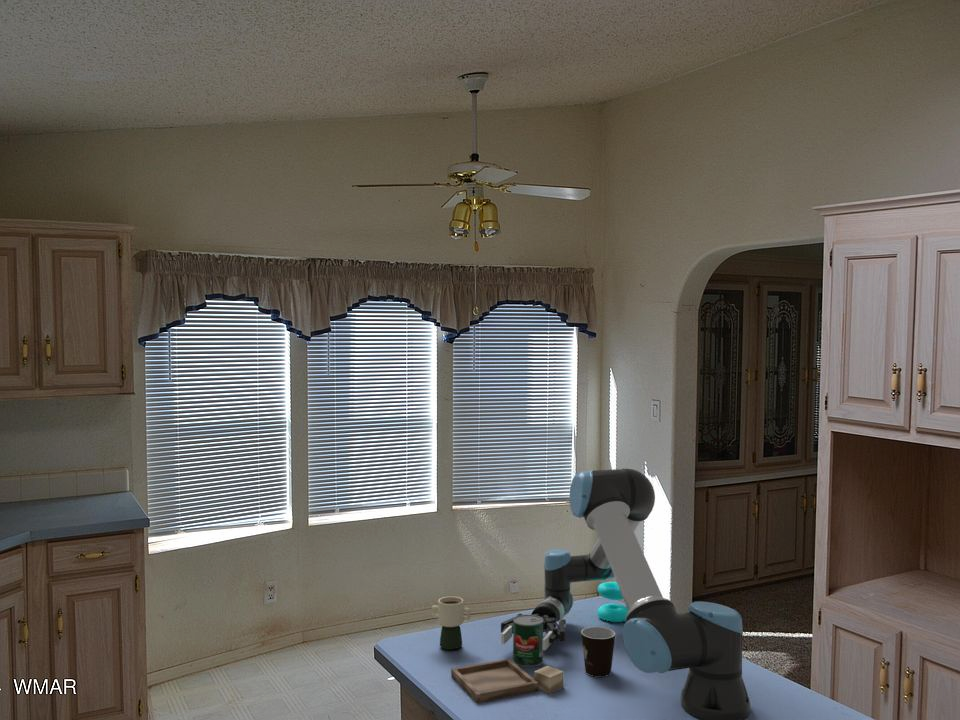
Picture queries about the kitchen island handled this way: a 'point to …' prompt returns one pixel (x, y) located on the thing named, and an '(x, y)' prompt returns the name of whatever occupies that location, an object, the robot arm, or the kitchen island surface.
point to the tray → (494, 680)
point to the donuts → (612, 610)
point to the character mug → (450, 620)
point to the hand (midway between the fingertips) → (523, 642)
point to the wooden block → (549, 679)
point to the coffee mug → (598, 650)
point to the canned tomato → (527, 640)
